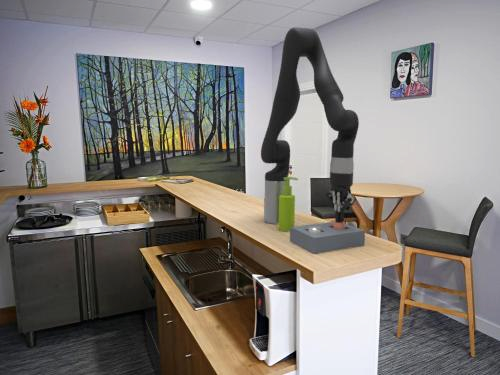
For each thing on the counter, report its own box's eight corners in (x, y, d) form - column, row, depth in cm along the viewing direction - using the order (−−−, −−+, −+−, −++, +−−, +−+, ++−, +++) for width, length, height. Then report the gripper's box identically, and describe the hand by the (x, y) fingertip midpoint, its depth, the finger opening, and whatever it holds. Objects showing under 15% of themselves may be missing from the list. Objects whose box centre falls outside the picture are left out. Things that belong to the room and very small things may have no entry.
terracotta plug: (330, 235, 127) (330, 221, 126) (339, 234, 129) (340, 220, 128) (337, 238, 124) (338, 224, 123) (347, 237, 125) (347, 222, 125)
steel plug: (305, 241, 123) (306, 227, 122) (315, 240, 125) (316, 225, 124) (312, 245, 120) (313, 230, 119) (322, 243, 121) (323, 228, 120)
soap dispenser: (296, 232, 137) (297, 178, 134) (277, 231, 139) (278, 178, 136) (297, 228, 143) (298, 176, 140) (279, 227, 144) (280, 176, 141)
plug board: (289, 241, 126) (290, 227, 126) (337, 234, 135) (337, 221, 134) (313, 253, 114) (314, 237, 113) (364, 245, 122) (365, 230, 122)
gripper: (320, 169, 127) (318, 219, 130) (345, 173, 115) (343, 228, 118) (337, 168, 130) (335, 216, 133) (364, 172, 118) (361, 225, 121)
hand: (339, 222), depth 125 cm, fingers closed
